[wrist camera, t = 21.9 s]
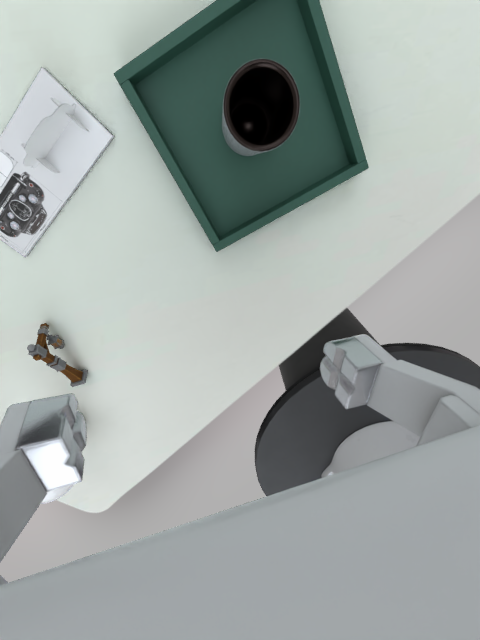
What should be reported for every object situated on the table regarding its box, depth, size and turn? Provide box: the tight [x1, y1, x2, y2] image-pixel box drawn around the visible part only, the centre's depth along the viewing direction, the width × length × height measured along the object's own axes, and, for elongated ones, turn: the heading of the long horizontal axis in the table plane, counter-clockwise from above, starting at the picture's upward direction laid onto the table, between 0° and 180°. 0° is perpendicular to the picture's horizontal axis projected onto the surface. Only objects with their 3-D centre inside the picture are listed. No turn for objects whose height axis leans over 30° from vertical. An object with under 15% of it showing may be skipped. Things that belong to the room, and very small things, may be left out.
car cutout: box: [0, 67, 114, 257], centre depth 26 cm, size 15×7×4 cm, turn 135°
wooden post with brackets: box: [27, 323, 88, 387], centre depth 35 cm, size 2×8×4 cm, turn 17°
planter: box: [222, 58, 300, 156], centre depth 22 cm, size 4×4×10 cm
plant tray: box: [114, 0, 368, 252], centre depth 26 cm, size 16×16×2 cm
